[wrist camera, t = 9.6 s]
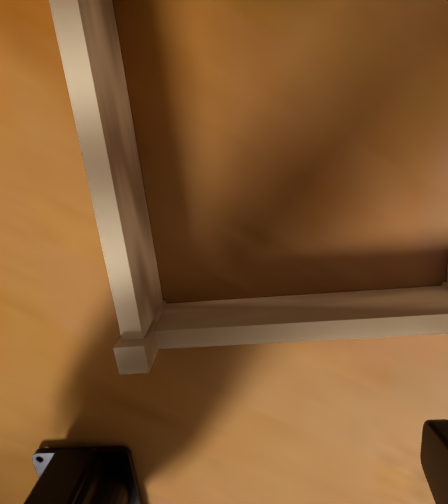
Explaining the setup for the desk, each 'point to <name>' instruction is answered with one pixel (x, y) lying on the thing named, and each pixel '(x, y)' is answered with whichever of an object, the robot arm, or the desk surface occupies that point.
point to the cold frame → (141, 242)
